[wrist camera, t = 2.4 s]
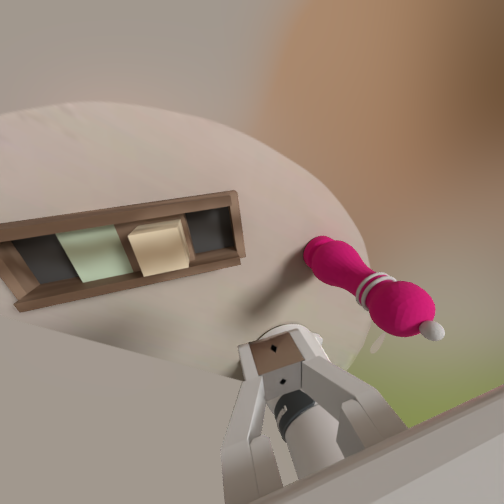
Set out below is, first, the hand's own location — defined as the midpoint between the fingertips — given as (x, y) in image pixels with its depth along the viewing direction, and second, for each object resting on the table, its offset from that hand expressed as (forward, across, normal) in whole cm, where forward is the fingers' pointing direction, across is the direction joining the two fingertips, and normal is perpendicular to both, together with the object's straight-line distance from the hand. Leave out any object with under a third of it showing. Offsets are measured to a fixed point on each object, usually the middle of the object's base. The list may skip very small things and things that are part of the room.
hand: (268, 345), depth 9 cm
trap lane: (+22, +11, 0) cm, 25 cm away
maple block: (+19, +7, 0) cm, 21 cm away
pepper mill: (+22, -17, +8) cm, 29 cm away
